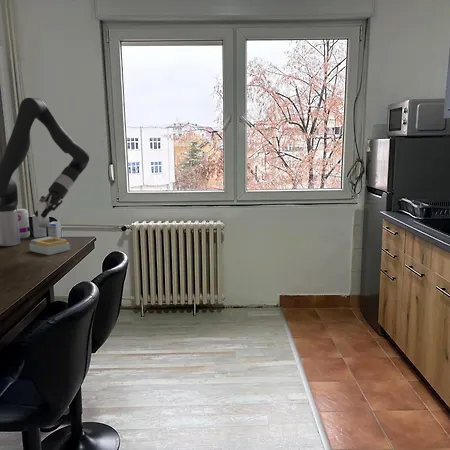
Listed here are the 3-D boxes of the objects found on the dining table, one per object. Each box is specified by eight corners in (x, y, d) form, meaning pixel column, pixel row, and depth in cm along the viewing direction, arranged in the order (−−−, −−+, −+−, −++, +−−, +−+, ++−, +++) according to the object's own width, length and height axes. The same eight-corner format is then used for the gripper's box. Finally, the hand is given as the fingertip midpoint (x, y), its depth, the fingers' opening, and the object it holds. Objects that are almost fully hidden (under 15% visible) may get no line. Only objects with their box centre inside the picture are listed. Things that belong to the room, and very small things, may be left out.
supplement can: (22, 238, 224) (19, 211, 221) (9, 238, 226) (6, 210, 224) (33, 235, 231) (30, 208, 229) (21, 234, 234) (18, 208, 231)
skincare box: (35, 237, 226) (32, 215, 224) (33, 236, 229) (31, 214, 227) (47, 236, 229) (45, 214, 227) (45, 235, 233) (43, 213, 231)
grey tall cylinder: (37, 226, 187) (34, 198, 185) (46, 225, 191) (43, 197, 189) (42, 227, 185) (39, 199, 183) (51, 226, 189) (49, 198, 186)
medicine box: (53, 237, 227) (52, 221, 226) (61, 237, 227) (60, 221, 226) (48, 240, 219) (47, 224, 218) (57, 240, 220) (55, 223, 218)
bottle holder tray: (30, 250, 198) (29, 240, 197) (51, 246, 207) (50, 236, 206) (48, 255, 189) (47, 244, 188) (70, 250, 198) (69, 239, 197)
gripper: (46, 180, 194) (24, 209, 187) (65, 181, 186) (42, 212, 179) (57, 190, 200) (36, 219, 192) (76, 192, 192) (54, 222, 184)
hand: (39, 216), depth 186 cm, fingers closed on grey tall cylinder, 4 cm apart
